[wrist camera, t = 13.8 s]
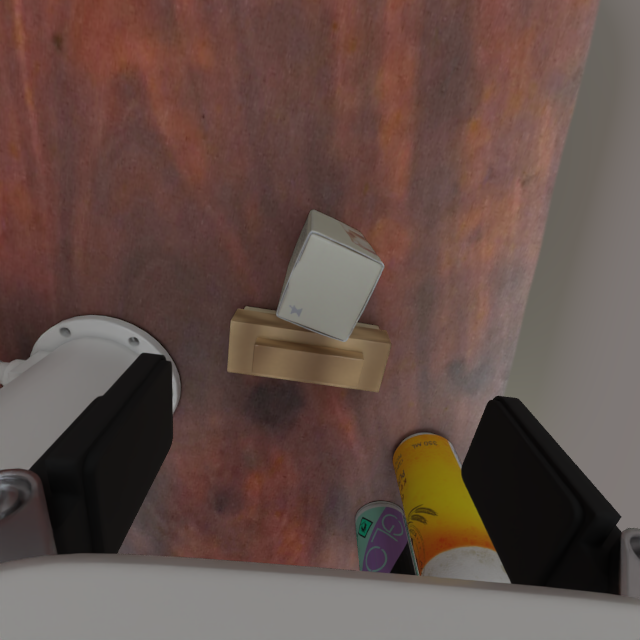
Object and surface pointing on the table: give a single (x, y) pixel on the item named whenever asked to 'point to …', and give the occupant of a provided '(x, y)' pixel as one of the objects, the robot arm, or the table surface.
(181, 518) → the table surface
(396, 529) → the spray can
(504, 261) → the table surface
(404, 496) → the beer can
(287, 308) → the white box
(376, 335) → the tan rectangular block
